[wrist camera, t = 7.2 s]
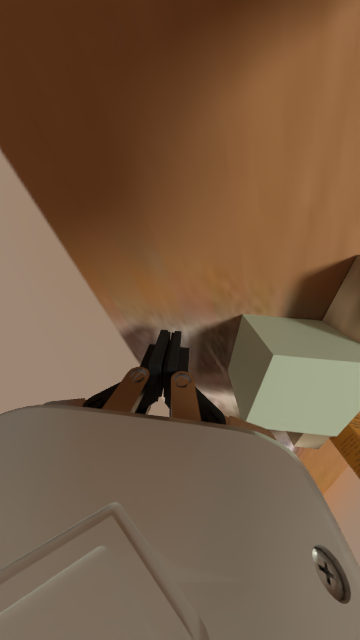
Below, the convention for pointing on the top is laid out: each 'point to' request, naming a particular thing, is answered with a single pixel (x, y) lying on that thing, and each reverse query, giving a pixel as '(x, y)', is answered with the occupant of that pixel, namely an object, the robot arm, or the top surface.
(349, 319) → the birch board
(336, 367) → the green block
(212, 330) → the top surface
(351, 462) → the supplement box
